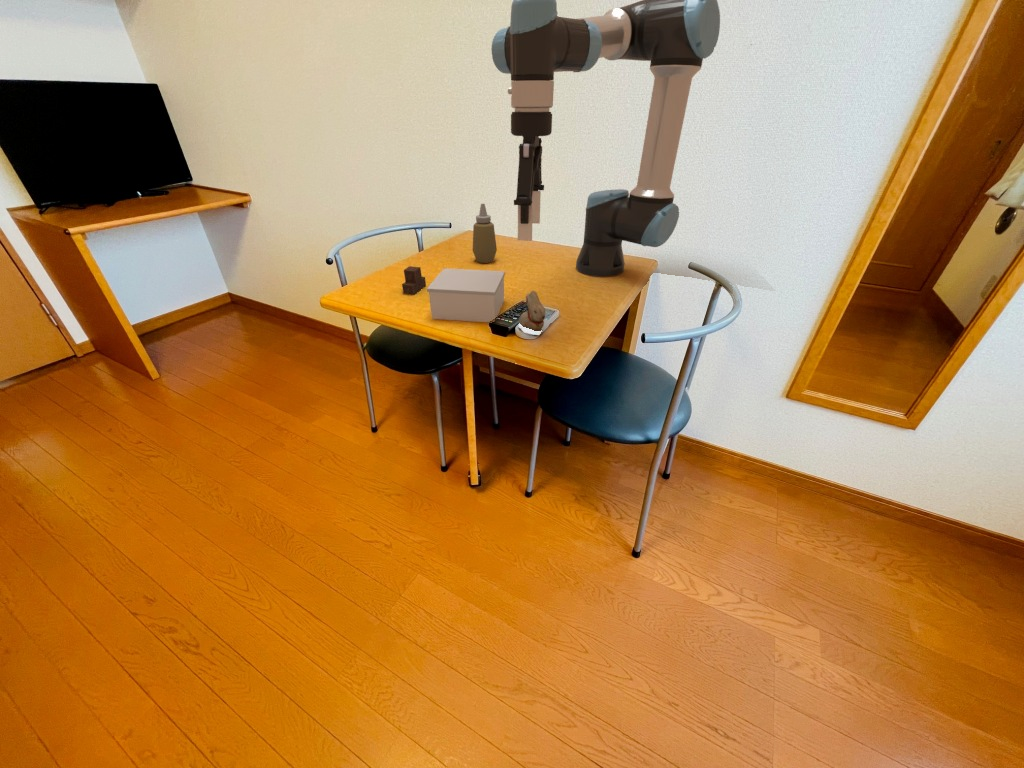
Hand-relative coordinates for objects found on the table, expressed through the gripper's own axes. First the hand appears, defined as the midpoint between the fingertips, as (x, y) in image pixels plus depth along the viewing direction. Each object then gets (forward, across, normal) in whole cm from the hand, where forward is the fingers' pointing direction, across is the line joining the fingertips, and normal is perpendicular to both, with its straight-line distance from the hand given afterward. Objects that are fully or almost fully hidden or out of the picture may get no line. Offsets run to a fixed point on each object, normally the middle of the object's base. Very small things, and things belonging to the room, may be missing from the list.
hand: (529, 231), depth 90 cm
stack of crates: (+24, -20, -34) cm, 46 cm away
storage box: (+23, -10, -17) cm, 30 cm away
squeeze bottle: (+23, -49, -21) cm, 58 cm away
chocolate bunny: (+23, 0, +1) cm, 23 cm away
